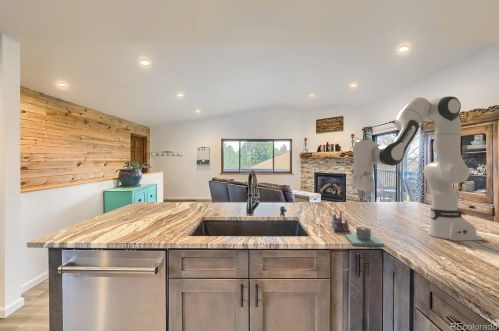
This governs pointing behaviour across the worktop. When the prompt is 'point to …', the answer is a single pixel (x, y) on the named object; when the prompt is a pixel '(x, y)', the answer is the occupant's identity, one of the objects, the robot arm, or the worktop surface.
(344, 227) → the grey red spired figurine
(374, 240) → the shaft block
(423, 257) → the worktop surface
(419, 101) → the robot arm
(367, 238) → the hub
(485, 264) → the worktop surface
